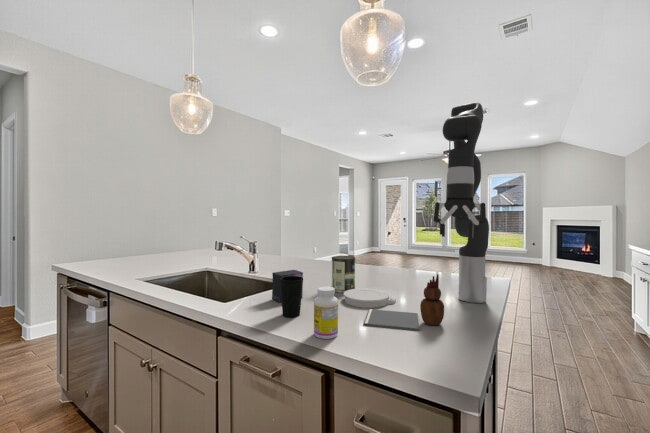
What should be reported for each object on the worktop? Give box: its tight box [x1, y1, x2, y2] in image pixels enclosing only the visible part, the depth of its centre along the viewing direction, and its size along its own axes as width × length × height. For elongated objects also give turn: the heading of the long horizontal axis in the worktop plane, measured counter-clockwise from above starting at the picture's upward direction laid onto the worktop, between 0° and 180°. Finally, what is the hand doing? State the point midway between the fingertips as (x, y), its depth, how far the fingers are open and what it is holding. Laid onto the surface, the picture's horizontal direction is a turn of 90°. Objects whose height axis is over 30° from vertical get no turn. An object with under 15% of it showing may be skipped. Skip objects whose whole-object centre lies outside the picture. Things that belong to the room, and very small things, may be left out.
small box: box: [271, 269, 304, 304], centre depth 120 cm, size 11×6×10 cm, turn 131°
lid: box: [343, 287, 397, 309], centre depth 118 cm, size 17×20×3 cm
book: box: [362, 308, 420, 332], centre depth 97 cm, size 16×14×1 cm
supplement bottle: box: [313, 286, 339, 340], centre depth 85 cm, size 7×7×13 cm
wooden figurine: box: [419, 273, 445, 326], centre depth 94 cm, size 7×6×15 cm
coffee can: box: [331, 255, 356, 294], centre depth 134 cm, size 10×10×14 cm
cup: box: [280, 276, 304, 319], centre depth 101 cm, size 8×8×12 cm
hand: (458, 237), depth 93 cm, fingers open, 8 cm apart
